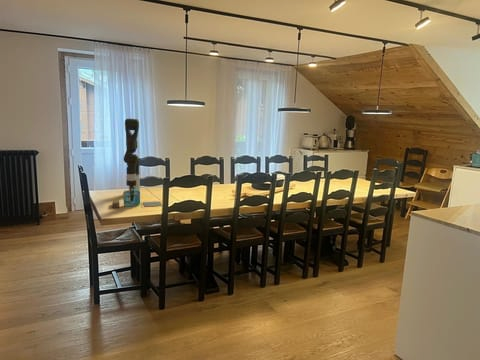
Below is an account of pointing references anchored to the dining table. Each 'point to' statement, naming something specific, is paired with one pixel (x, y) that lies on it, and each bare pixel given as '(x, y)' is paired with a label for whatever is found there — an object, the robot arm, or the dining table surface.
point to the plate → (151, 204)
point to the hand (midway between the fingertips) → (131, 199)
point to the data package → (128, 198)
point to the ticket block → (115, 203)
